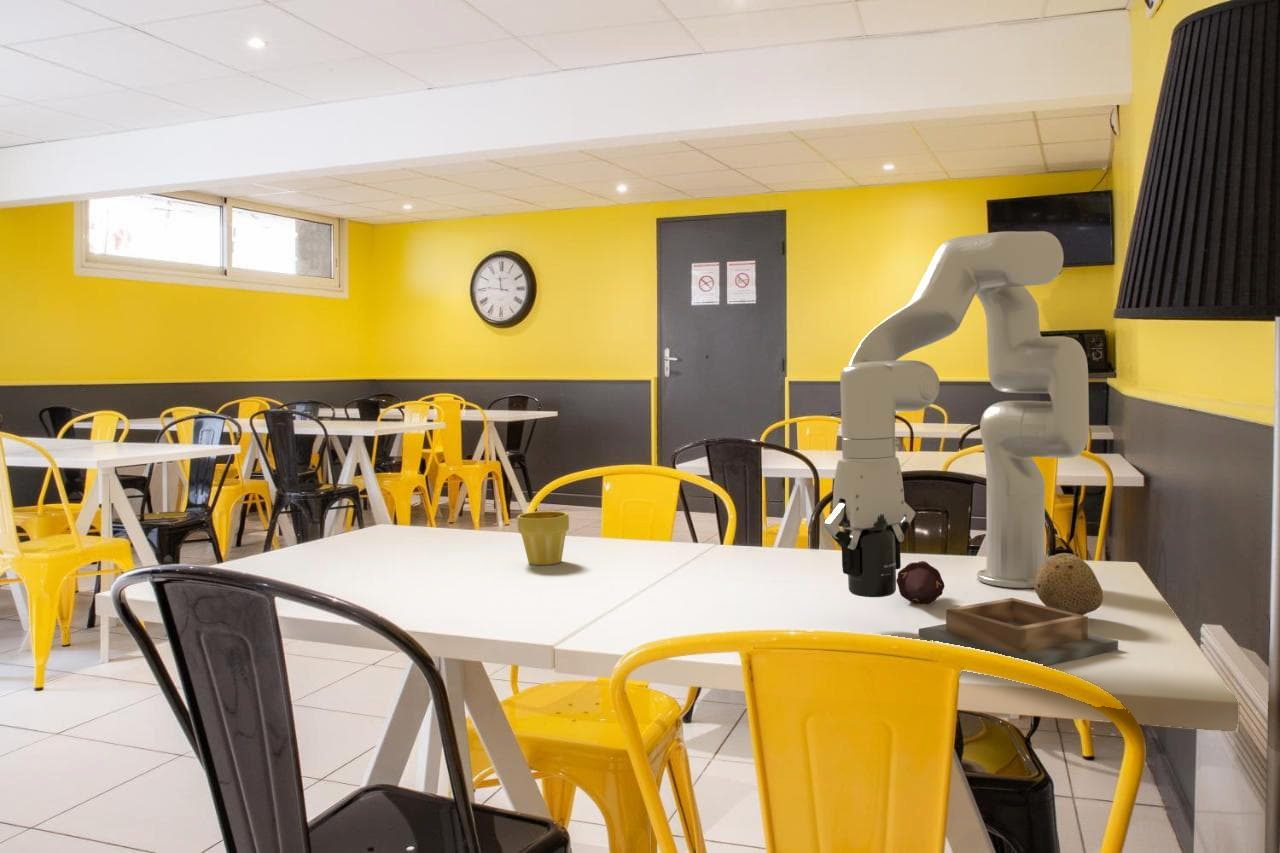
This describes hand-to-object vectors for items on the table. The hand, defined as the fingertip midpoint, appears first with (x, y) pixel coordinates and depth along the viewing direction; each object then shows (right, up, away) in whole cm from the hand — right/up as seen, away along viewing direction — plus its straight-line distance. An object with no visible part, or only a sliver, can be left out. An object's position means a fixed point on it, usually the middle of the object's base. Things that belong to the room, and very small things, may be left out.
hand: (871, 570), depth 142 cm
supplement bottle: (0, -4, 0) cm, 4 cm away
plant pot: (-53, -7, +55) cm, 77 cm away
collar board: (+18, -9, -9) cm, 22 cm away
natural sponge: (+30, -8, +3) cm, 31 cm away
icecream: (+11, -8, +15) cm, 20 cm away
